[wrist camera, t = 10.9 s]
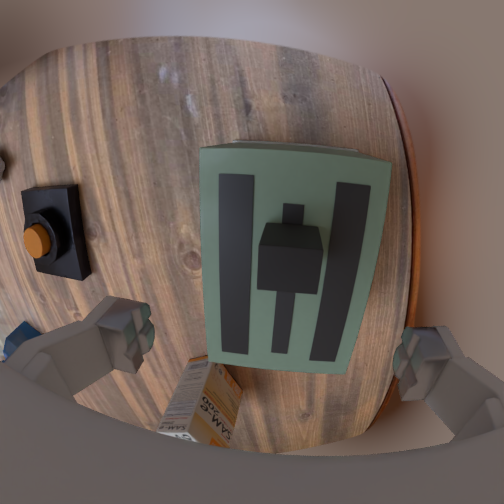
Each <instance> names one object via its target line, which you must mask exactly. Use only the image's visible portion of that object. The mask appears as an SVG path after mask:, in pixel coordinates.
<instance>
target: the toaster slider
mask: <svg viewBox="0 0 504 504" xmlns="http://www.w3.org/2000/svg"><path fill="white" fill-rule="evenodd" d="M323 253H324V249H323V245H322V241H321V236H320V232H319V228H318V227H316V226H305V225H293V224H281V223H268V222H267V223H266V224H265V227H264V230H263V233H262V236H261V239H260V242H259V246H258V269H257V289H258V290H268V291H279V292H290V293H302V294H314V295H317V293H318V287H319V280H320V274H321V267H322V260H323Z"/></svg>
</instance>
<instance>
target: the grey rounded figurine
mask: <svg viewBox="0 0 504 504" xmlns="http://www.w3.org/2000/svg"><path fill="white" fill-rule="evenodd" d="M4 169H5V163H4V161H3V160H2V158H1V156H0V182H1V177H2V175H3V171H4Z"/></svg>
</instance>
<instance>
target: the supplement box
mask: <svg viewBox="0 0 504 504" xmlns="http://www.w3.org/2000/svg"><path fill="white" fill-rule="evenodd" d="M242 393H243V391H242V390H241V388H240V387H239V386H238V384H237V383H236V382H235V380H234V379H233V378H232V376H231V375H230V374H229V372H228V371H227V370H226V368H225V367H224V365H223V364H222V363H215V362H209V361H208V355H207V356H203V357H198V358H194V359H190V360H189V361H188V363H187V365H186V367H185V370H184V372H183V374H182V376H181V378H180V380H179V382H178V385H177V387H176V389H175V391H174V393H173V395H172V398H171V400H170V402H169V404H168V406H167V408H166V411H165V413H164V415H163V417H162V419H161V422H160V424H159V426H158V428H157V430H156V432H158V433H161V434H165V435H169V436H173V437H177V438H181V439H185V440H189V441H193V442H198V443H203V444H208V445H213V446H219V447H224V448H230V443H231V439H232V435H233V431H234V427H235V423H236V418H237V414H238V410H239V406H240V401H241V397H242Z"/></svg>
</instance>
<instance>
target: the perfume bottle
mask: <svg viewBox="0 0 504 504" xmlns="http://www.w3.org/2000/svg"><path fill="white" fill-rule="evenodd" d="M40 335H42V334H40V333H39V332H38V331H36V330H35V329H34V328H33V327H31V326H30V325H29V324H27V323H26V322H25V321H24V322H23V323H22V324H20V325H19V326H18V327H17V328H16V329H15V330H14V331H13V332H12V333H11V334H10V335H9V336H8V337H6V340H5V345H4V350H3V353H4V356H5V359H6V360H7V359H8V358H9V357H10V356H11V355H12V354H13V352H14V351H15V350H16V349H17V348H18V347H19V346H20V345H21V344H22V343H23V342H25V341H27V340H30V339H32V338H35V337H37V336H40ZM6 360H5V361H6ZM5 361H4V360H3V361H2V362H3V363H4V362H5Z"/></svg>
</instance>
